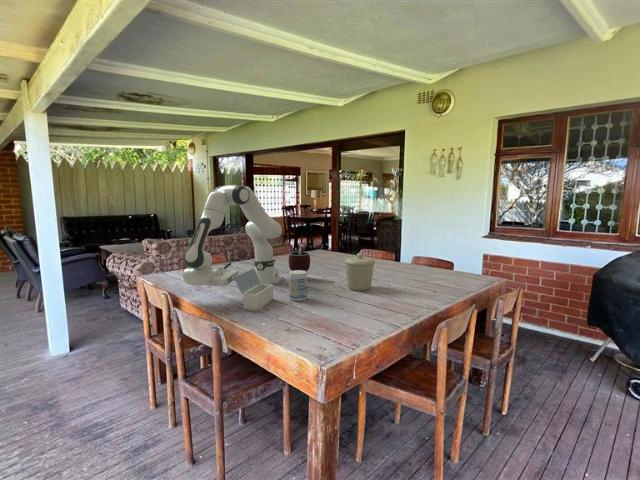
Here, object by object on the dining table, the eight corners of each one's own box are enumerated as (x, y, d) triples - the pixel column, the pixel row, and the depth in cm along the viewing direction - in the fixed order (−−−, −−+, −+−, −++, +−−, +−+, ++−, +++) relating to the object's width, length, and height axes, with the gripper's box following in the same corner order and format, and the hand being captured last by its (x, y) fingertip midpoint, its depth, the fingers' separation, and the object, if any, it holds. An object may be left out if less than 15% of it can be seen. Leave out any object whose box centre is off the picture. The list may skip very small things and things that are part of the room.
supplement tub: (300, 302, 185) (300, 274, 183) (285, 300, 190) (285, 272, 188) (310, 297, 194) (310, 271, 192) (295, 295, 198) (295, 269, 196)
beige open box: (261, 298, 193) (260, 283, 192) (273, 299, 191) (273, 284, 190) (243, 310, 174) (243, 294, 173) (257, 311, 172) (256, 295, 171)
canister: (373, 293, 201) (374, 256, 199) (341, 291, 205) (342, 255, 202) (375, 285, 219) (376, 251, 216) (345, 283, 223) (346, 250, 220)
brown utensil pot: (309, 282, 226) (309, 250, 224) (287, 282, 227) (287, 250, 224) (310, 276, 242) (310, 246, 239) (290, 276, 242) (289, 246, 239)
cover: (260, 282, 192) (259, 283, 192) (254, 268, 192) (252, 268, 192) (242, 293, 173) (241, 293, 173) (235, 276, 173) (233, 277, 173)
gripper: (206, 276, 173) (234, 276, 171) (222, 267, 193) (247, 267, 191) (207, 288, 174) (235, 289, 172) (222, 278, 194) (247, 279, 192)
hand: (241, 277), depth 182 cm, fingers closed
